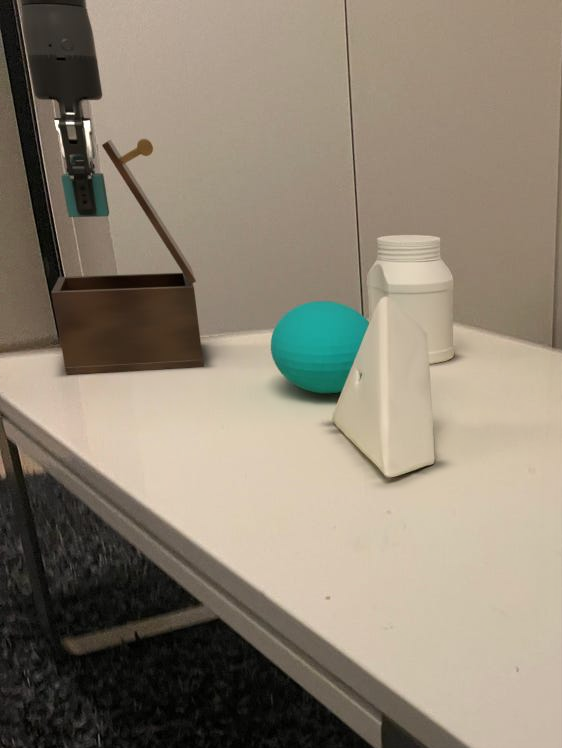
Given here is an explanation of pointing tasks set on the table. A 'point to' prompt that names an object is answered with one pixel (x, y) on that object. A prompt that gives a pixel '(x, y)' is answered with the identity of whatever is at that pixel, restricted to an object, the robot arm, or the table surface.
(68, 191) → the block
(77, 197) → the robot arm
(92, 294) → the chest
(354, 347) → the toy
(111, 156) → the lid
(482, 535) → the table surface
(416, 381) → the white wedge
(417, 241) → the jar
